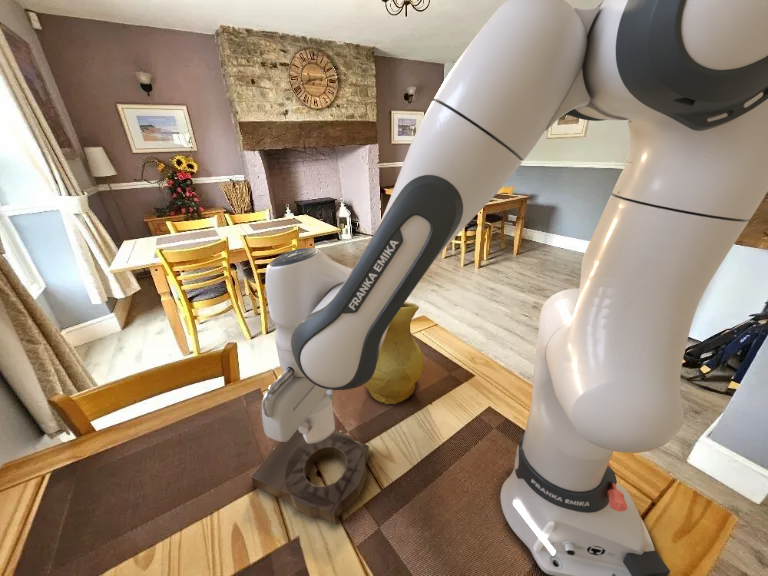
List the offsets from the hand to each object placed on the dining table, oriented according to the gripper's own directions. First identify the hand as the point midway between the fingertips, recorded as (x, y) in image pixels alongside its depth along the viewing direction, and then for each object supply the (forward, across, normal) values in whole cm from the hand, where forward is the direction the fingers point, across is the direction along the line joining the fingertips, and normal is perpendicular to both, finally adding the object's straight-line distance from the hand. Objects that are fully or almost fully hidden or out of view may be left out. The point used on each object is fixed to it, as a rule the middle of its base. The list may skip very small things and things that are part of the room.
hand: (317, 415), depth 54 cm
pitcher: (+16, +28, -2) cm, 32 cm away
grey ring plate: (+16, 0, +3) cm, 16 cm away
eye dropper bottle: (+5, 0, 0) cm, 5 cm away
